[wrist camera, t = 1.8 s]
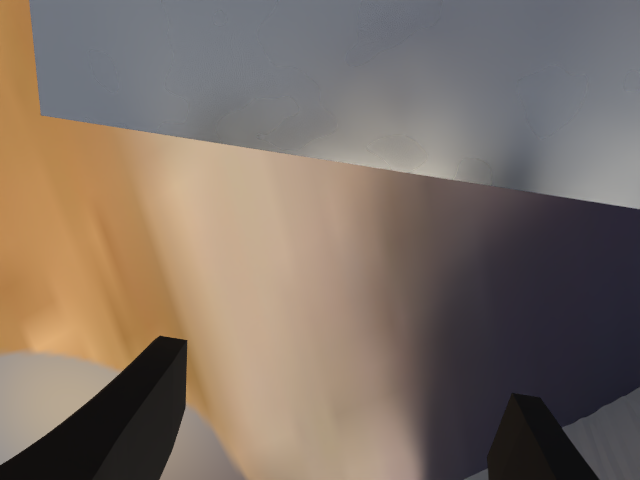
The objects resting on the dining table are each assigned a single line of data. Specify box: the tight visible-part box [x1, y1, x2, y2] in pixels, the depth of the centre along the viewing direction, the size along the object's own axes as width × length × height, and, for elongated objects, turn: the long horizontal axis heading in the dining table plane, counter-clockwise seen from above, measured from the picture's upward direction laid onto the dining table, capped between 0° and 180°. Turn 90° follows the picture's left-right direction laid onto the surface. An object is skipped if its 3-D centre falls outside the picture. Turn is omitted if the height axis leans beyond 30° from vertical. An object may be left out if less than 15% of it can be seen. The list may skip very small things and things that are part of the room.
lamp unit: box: [29, 0, 640, 209], centre depth 14 cm, size 16×7×7 cm, turn 83°
